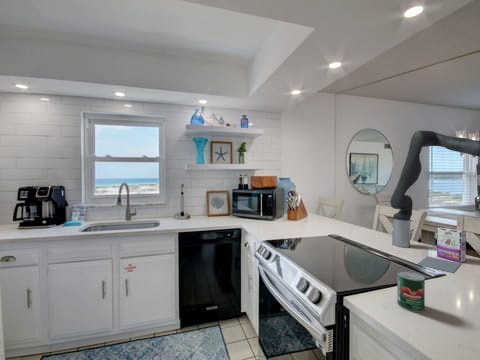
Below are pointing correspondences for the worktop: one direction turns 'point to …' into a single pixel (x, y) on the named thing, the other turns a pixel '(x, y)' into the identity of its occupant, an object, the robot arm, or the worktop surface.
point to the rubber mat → (439, 264)
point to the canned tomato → (411, 291)
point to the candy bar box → (451, 244)
